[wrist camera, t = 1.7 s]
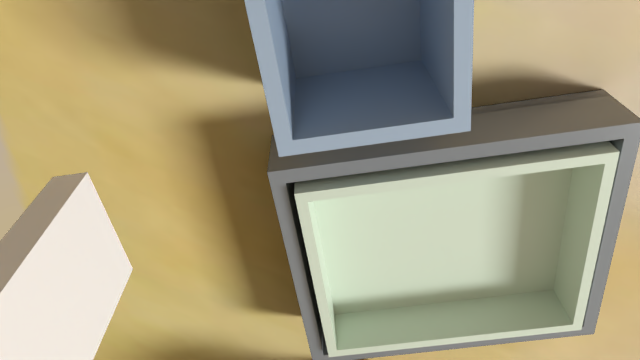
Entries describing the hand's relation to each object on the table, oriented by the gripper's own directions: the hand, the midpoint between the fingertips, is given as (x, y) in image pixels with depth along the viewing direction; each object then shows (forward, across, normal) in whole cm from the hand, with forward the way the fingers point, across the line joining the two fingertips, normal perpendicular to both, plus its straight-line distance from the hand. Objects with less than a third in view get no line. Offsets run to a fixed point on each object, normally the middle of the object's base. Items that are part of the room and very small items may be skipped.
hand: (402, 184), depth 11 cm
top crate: (+17, +4, -14) cm, 23 cm away
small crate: (+17, 0, 0) cm, 17 cm away
